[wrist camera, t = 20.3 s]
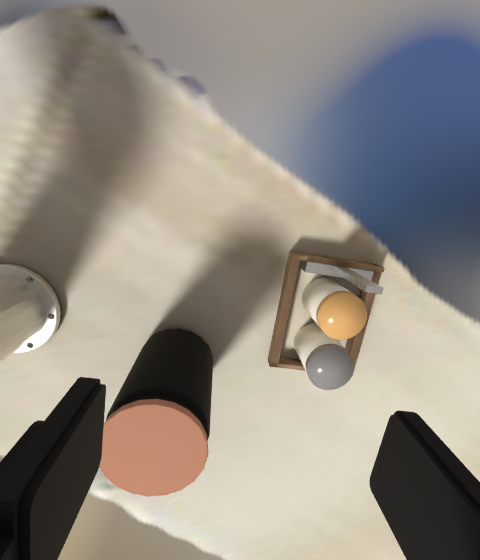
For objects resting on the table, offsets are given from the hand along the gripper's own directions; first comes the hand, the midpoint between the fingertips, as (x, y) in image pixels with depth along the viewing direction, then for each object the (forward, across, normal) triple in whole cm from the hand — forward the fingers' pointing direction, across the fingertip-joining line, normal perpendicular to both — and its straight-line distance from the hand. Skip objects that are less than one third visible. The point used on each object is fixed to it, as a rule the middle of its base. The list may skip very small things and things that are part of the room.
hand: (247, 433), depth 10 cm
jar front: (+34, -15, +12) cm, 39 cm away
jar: (+34, -15, +4) cm, 38 cm away
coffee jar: (+34, +5, +17) cm, 39 cm away
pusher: (+34, -15, 0) cm, 37 cm away
